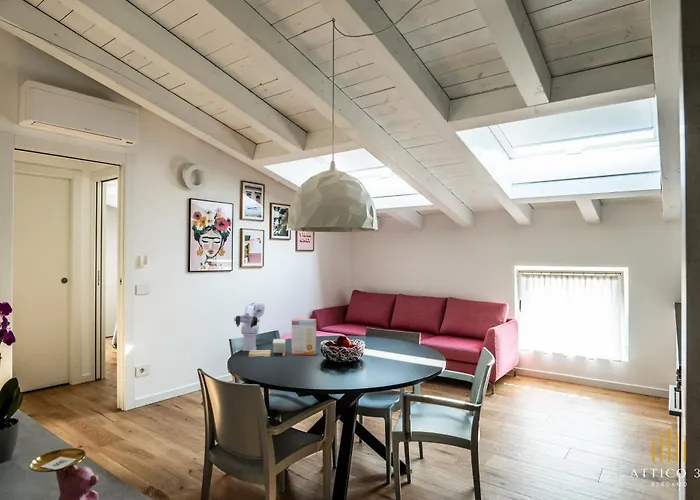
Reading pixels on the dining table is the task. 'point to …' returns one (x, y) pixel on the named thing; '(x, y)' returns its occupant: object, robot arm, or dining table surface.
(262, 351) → the panel
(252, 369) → the dining table surface
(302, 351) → the cracker box
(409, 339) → the dining table surface
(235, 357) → the dining table surface
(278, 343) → the overhang
